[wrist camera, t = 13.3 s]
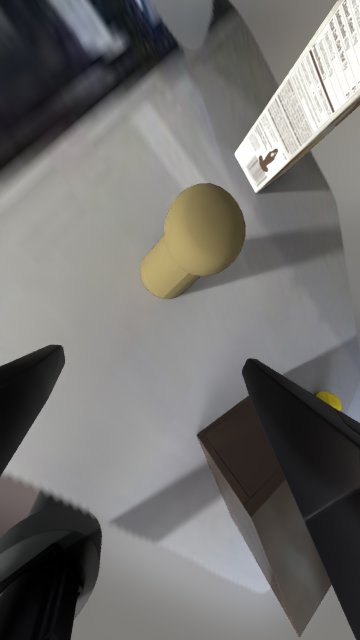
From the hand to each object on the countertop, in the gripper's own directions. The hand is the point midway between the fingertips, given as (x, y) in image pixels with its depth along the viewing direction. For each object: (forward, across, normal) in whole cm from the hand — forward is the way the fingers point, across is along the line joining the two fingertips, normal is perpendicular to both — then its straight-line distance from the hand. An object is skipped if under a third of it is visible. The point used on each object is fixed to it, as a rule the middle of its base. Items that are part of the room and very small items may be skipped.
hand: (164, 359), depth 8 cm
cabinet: (+5, -15, +19) cm, 25 cm away
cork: (+14, 0, -2) cm, 14 cm away
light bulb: (+9, -31, +16) cm, 36 cm away
